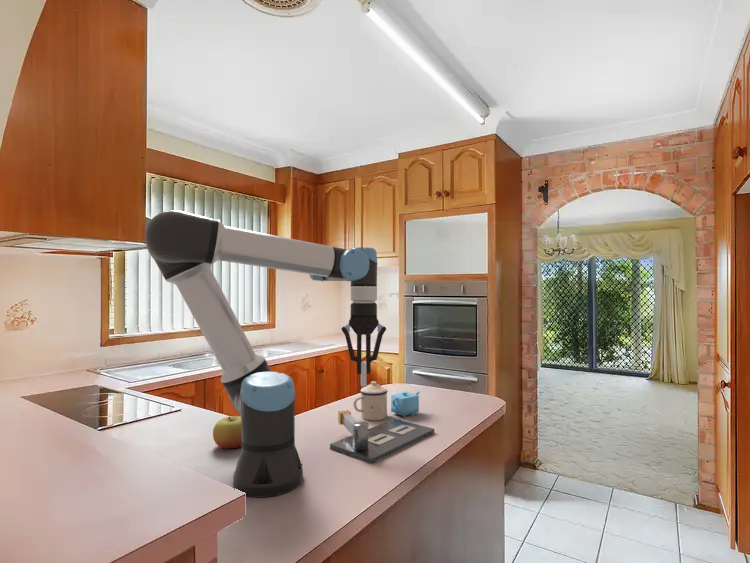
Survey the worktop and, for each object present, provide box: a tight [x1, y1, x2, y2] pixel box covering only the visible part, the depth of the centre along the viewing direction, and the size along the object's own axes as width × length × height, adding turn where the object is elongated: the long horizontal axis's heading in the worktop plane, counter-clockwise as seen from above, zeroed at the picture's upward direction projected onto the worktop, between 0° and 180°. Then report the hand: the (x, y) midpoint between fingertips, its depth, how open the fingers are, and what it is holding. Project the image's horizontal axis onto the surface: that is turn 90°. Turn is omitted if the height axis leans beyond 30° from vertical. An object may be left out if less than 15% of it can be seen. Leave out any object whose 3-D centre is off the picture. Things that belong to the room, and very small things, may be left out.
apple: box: [212, 415, 242, 450], centre depth 118 cm, size 10×10×8 cm
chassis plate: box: [329, 418, 435, 464], centre depth 120 cm, size 28×15×2 cm, turn 139°
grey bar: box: [337, 409, 369, 450], centre depth 118 cm, size 18×4×6 cm, turn 20°
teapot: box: [390, 391, 421, 418], centre depth 145 cm, size 12×6×8 cm, turn 125°
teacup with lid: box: [352, 381, 388, 421], centre depth 141 cm, size 12×9×12 cm
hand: (363, 385), depth 121 cm, fingers closed
